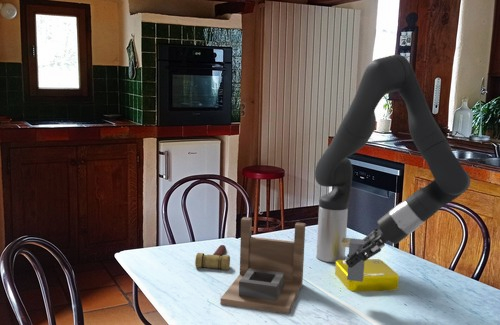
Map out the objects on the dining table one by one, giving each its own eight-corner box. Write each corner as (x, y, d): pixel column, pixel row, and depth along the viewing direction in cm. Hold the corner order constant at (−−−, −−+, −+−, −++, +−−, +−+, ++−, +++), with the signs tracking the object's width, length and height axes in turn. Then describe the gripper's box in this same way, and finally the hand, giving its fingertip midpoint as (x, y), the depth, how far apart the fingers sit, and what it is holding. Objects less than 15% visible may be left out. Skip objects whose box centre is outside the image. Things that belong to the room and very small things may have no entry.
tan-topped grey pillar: (340, 273, 142) (343, 237, 140) (363, 276, 141) (366, 239, 139) (339, 278, 138) (341, 242, 137) (362, 281, 137) (365, 244, 135)
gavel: (209, 238, 181) (238, 240, 180) (209, 251, 182) (238, 254, 180) (195, 254, 161) (227, 257, 159) (194, 269, 161) (227, 272, 160)
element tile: (349, 293, 147) (350, 276, 147) (333, 273, 162) (333, 258, 161) (400, 291, 150) (401, 275, 149) (379, 271, 164) (380, 257, 164)
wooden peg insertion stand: (241, 276, 156) (243, 216, 153) (302, 284, 152) (305, 223, 149) (220, 303, 137) (221, 236, 134) (288, 314, 133) (292, 244, 130)
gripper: (390, 203, 141) (341, 242, 146) (390, 217, 127) (336, 260, 132) (409, 225, 140) (359, 263, 146) (411, 241, 127) (356, 282, 132)
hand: (348, 261), depth 139 cm, fingers closed on tan-topped grey pillar, 4 cm apart
